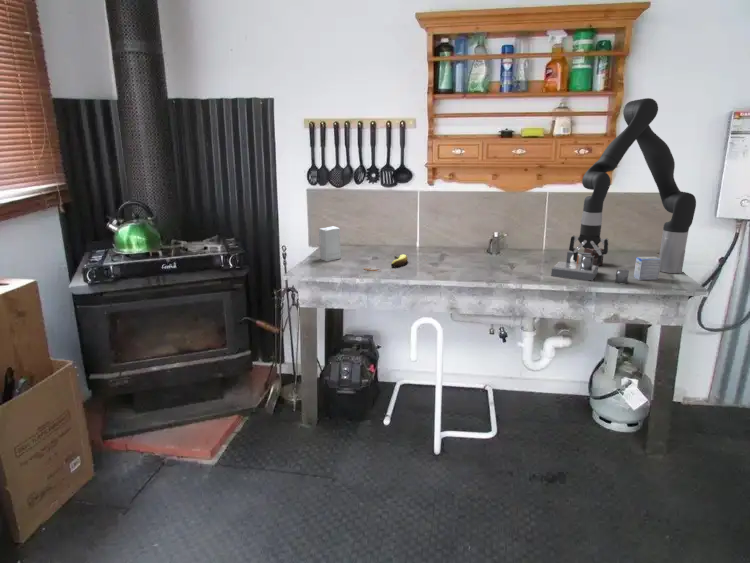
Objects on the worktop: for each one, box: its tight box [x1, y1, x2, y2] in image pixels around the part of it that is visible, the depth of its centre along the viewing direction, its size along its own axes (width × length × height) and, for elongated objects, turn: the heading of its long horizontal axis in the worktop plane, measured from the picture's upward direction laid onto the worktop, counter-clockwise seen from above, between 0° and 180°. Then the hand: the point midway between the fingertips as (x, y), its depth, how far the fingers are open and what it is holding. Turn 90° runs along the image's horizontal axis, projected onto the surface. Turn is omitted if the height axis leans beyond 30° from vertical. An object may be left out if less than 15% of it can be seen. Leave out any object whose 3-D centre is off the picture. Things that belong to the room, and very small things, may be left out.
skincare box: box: [318, 225, 342, 262], centre depth 243 cm, size 8×6×15 cm
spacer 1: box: [580, 255, 593, 270], centre depth 212 cm, size 4×4×5 cm
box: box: [583, 247, 605, 267], centre depth 233 cm, size 6×6×7 cm
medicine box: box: [633, 256, 661, 281], centre depth 211 cm, size 8×4×9 cm, turn 92°
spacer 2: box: [614, 268, 630, 284], centre depth 207 cm, size 4×4×5 cm
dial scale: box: [550, 250, 599, 282], centre depth 217 cm, size 16×14×8 cm
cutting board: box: [363, 254, 427, 273], centre depth 238 cm, size 35×27×4 cm
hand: (586, 262), depth 213 cm, fingers open, 8 cm apart
